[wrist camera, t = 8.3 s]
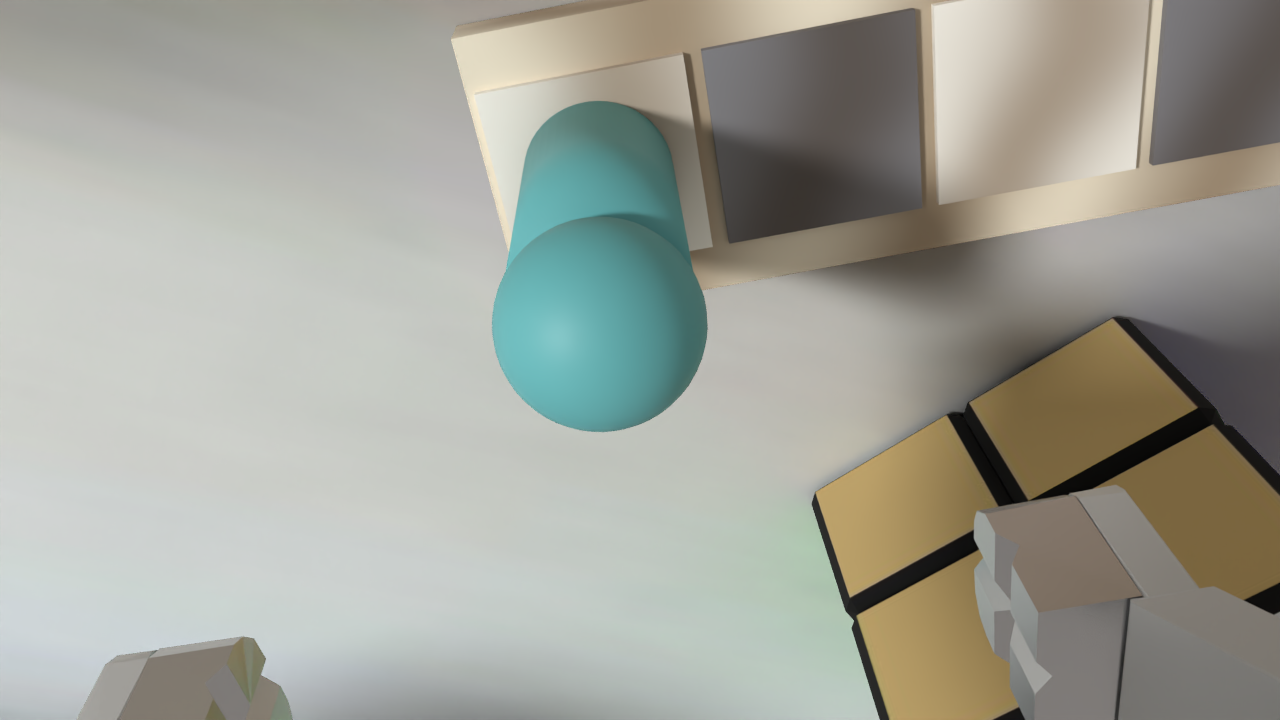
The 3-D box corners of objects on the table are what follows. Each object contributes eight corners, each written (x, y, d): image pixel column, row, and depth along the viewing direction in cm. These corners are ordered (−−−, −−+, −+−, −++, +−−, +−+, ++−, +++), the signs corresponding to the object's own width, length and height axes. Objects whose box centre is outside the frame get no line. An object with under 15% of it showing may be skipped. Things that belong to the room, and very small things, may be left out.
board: (529, 299, 26) (527, 325, 25) (456, 25, 23) (449, 41, 21) (1316, 155, 25) (1352, 175, 24) (1370, -154, 22) (1417, -148, 20)
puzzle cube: (1242, 528, 32) (1487, 815, 23) (958, 672, 34) (1083, 976, 26) (1118, 304, 27) (1365, 557, 19) (803, 489, 30) (893, 784, 21)
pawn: (536, 257, 24) (509, 489, 17) (504, 109, 22) (457, 296, 15) (687, 235, 24) (729, 459, 16) (667, 84, 22) (704, 259, 15)
